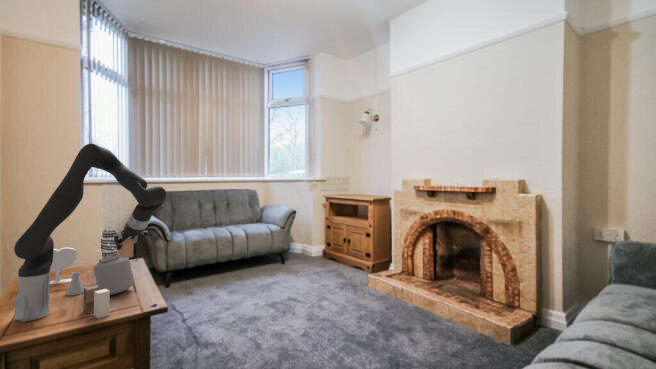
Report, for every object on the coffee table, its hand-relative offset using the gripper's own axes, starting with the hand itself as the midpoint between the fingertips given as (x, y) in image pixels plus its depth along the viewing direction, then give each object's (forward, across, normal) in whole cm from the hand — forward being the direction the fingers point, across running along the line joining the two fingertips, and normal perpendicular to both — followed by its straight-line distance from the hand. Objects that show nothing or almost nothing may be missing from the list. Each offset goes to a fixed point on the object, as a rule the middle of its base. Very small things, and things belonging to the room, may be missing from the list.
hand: (124, 247), depth 136 cm
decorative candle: (+65, -18, -28) cm, 73 cm away
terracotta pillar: (+2, 0, +4) cm, 5 cm away
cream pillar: (+15, +10, +22) cm, 28 cm away
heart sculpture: (+61, +7, -24) cm, 66 cm away
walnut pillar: (+21, +11, +16) cm, 28 cm away
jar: (+33, -3, +4) cm, 34 cm away
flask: (+42, +7, -5) cm, 43 cm away
